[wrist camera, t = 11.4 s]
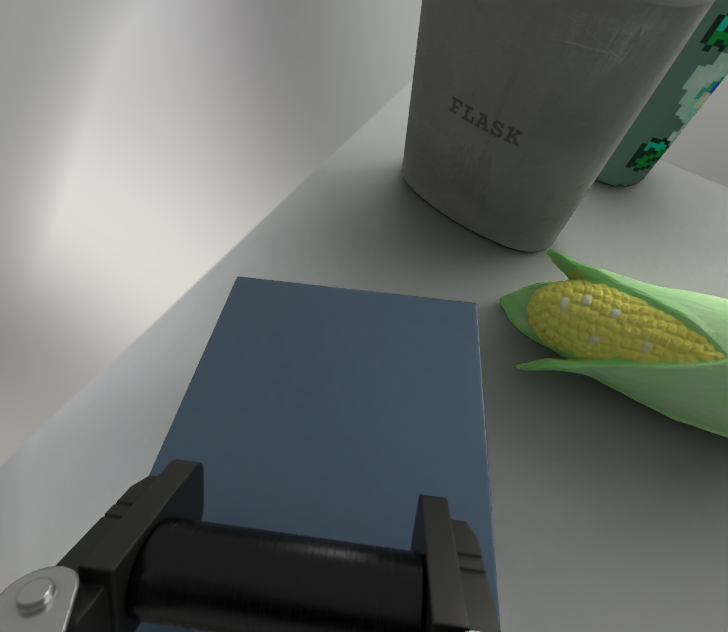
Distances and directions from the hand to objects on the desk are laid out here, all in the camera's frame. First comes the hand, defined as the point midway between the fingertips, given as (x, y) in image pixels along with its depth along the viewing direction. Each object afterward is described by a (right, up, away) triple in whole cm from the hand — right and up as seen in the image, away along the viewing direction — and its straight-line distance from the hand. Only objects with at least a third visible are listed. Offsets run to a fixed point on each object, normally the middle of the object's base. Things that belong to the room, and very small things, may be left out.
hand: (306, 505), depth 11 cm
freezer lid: (0, 0, +4) cm, 4 cm away
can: (+25, +20, +27) cm, 41 cm away
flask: (+11, +15, +24) cm, 30 cm away
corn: (+20, +1, +17) cm, 26 cm away
